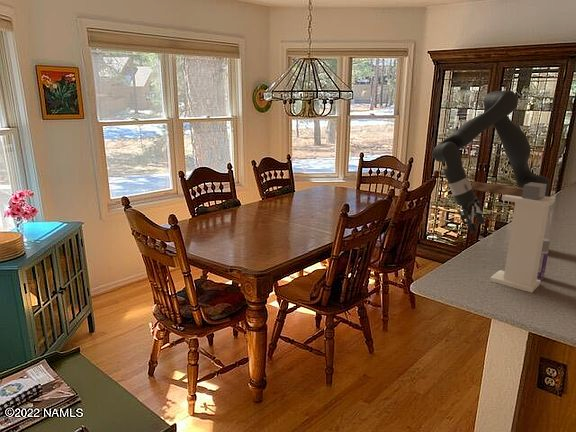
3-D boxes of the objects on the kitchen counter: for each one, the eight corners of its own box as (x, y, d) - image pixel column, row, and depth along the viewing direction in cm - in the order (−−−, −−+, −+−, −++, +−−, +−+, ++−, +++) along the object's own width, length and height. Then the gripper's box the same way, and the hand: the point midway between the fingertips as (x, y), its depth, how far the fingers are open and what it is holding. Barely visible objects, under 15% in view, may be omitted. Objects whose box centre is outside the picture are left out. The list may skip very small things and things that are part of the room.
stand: (489, 281, 157) (502, 195, 149) (499, 273, 164) (511, 191, 156) (532, 292, 148) (547, 202, 139) (539, 284, 155) (555, 197, 146)
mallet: (468, 190, 157) (470, 178, 156) (476, 187, 163) (478, 175, 162) (538, 200, 142) (540, 187, 141) (544, 196, 148) (546, 184, 146)
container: (538, 274, 163) (545, 237, 159) (546, 279, 159) (553, 241, 155) (526, 274, 163) (533, 237, 159) (534, 279, 159) (540, 241, 155)
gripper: (464, 194, 159) (481, 233, 160) (478, 181, 168) (494, 218, 170) (445, 199, 164) (462, 237, 166) (460, 187, 174) (476, 222, 175)
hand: (478, 227), depth 168 cm, fingers open, 8 cm apart
